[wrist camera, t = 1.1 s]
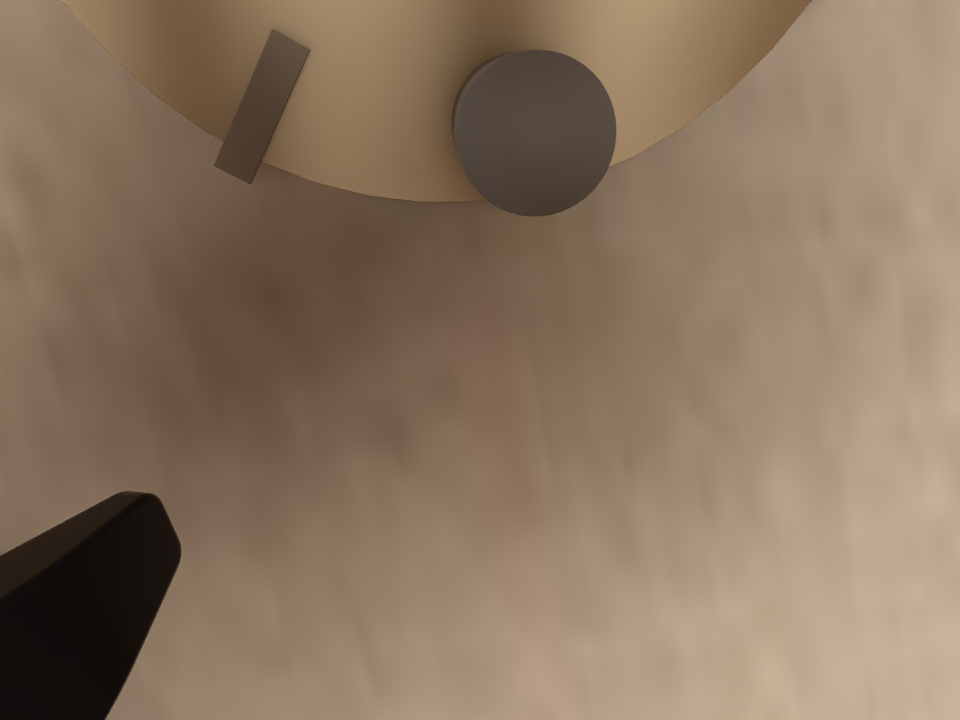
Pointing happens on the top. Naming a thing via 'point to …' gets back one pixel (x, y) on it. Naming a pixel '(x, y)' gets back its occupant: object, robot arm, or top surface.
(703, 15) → the turntable
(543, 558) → the top surface
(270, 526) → the top surface
